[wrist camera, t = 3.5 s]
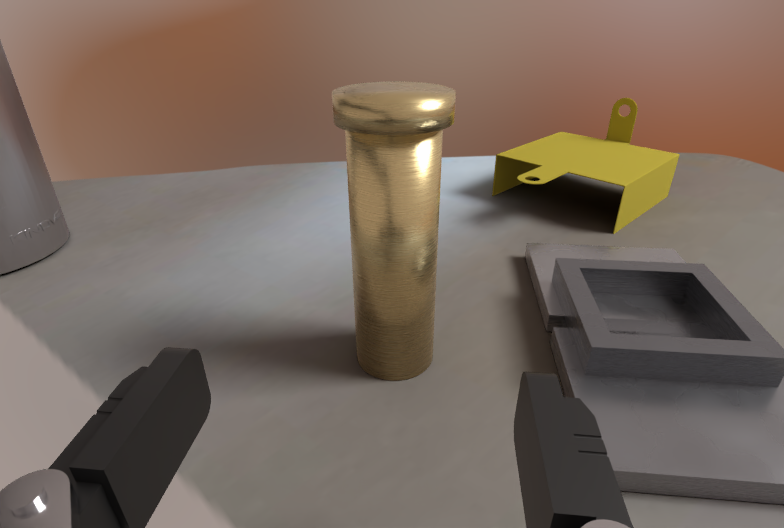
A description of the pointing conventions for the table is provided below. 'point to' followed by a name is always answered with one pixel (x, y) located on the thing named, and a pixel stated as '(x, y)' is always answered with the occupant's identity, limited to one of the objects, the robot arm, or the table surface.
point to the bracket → (594, 164)
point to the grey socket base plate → (666, 370)
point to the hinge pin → (394, 217)
